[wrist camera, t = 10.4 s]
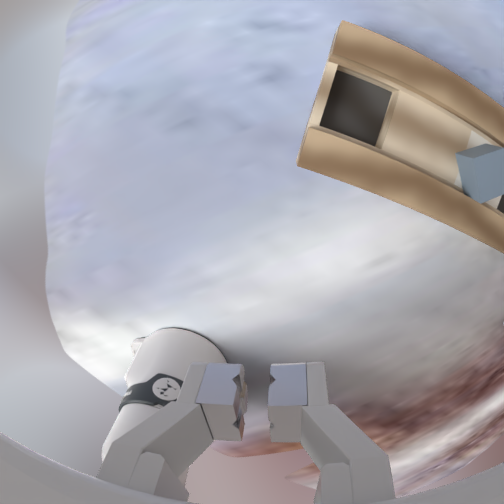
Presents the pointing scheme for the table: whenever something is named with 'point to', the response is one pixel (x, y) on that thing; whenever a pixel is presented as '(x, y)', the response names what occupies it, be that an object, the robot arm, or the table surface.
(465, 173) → the slate block
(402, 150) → the trap lane
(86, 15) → the table surface
